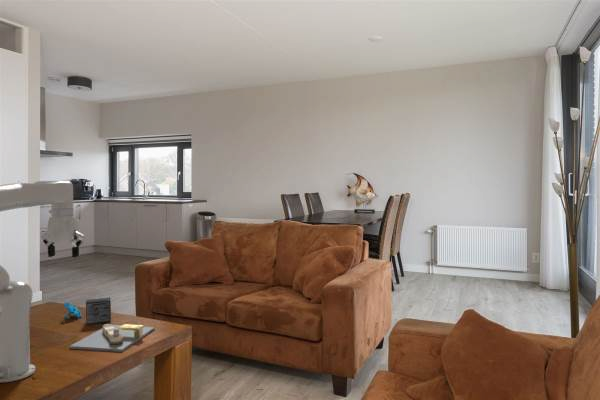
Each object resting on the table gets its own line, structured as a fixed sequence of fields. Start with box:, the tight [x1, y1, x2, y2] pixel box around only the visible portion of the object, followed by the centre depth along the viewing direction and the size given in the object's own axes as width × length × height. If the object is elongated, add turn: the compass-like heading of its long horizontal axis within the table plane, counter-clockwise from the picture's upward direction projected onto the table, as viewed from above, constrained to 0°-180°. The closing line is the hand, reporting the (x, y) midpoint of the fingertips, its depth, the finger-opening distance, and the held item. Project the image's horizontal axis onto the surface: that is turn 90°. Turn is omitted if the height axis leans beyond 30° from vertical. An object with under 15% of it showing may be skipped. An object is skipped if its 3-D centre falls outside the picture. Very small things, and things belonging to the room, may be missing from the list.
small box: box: [85, 297, 112, 326], centre depth 200 cm, size 11×6×10 cm, turn 113°
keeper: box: [119, 323, 145, 338], centre depth 178 cm, size 4×9×4 cm, turn 82°
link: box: [102, 323, 123, 344], centre depth 177 cm, size 20×5×5 cm, turn 37°
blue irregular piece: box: [63, 301, 83, 319], centre depth 206 cm, size 11×6×10 cm
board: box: [69, 324, 156, 353], centre depth 179 cm, size 26×22×1 cm
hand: (63, 256), depth 167 cm, fingers open, 9 cm apart
